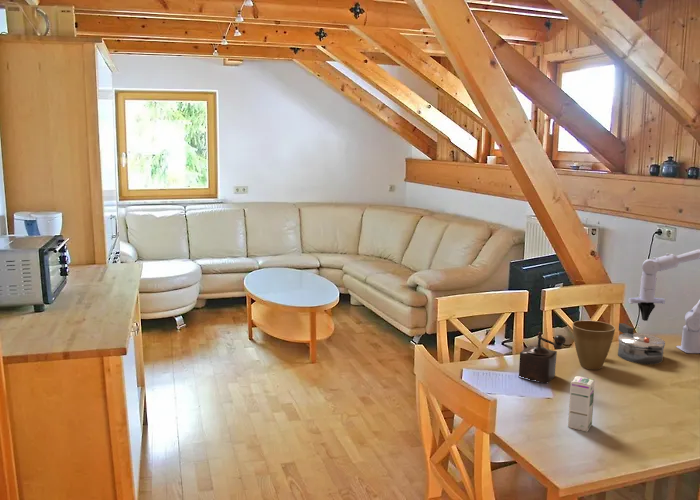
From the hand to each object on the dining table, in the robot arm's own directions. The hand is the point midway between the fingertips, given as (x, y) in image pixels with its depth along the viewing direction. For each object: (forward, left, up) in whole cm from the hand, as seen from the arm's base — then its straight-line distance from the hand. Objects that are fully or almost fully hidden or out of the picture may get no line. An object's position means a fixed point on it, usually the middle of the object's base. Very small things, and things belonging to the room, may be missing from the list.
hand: (644, 320), depth 266 cm
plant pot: (+33, +26, -11) cm, 43 cm away
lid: (+9, +14, -4) cm, 17 cm away
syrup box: (+57, +76, -11) cm, 96 cm away
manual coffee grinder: (+55, +38, -11) cm, 68 cm away
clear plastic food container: (+9, +16, -10) cm, 21 cm away
